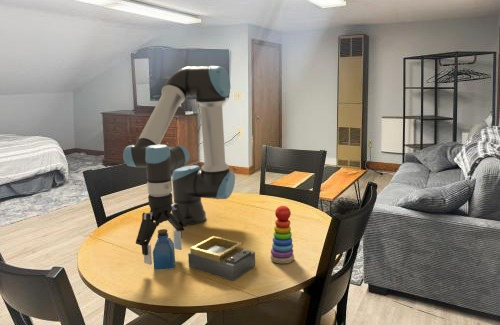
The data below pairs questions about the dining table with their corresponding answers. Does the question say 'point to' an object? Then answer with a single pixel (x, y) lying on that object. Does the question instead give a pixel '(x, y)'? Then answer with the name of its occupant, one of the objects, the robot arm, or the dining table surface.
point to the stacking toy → (282, 237)
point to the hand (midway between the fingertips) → (163, 256)
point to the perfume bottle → (163, 251)
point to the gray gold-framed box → (221, 258)
